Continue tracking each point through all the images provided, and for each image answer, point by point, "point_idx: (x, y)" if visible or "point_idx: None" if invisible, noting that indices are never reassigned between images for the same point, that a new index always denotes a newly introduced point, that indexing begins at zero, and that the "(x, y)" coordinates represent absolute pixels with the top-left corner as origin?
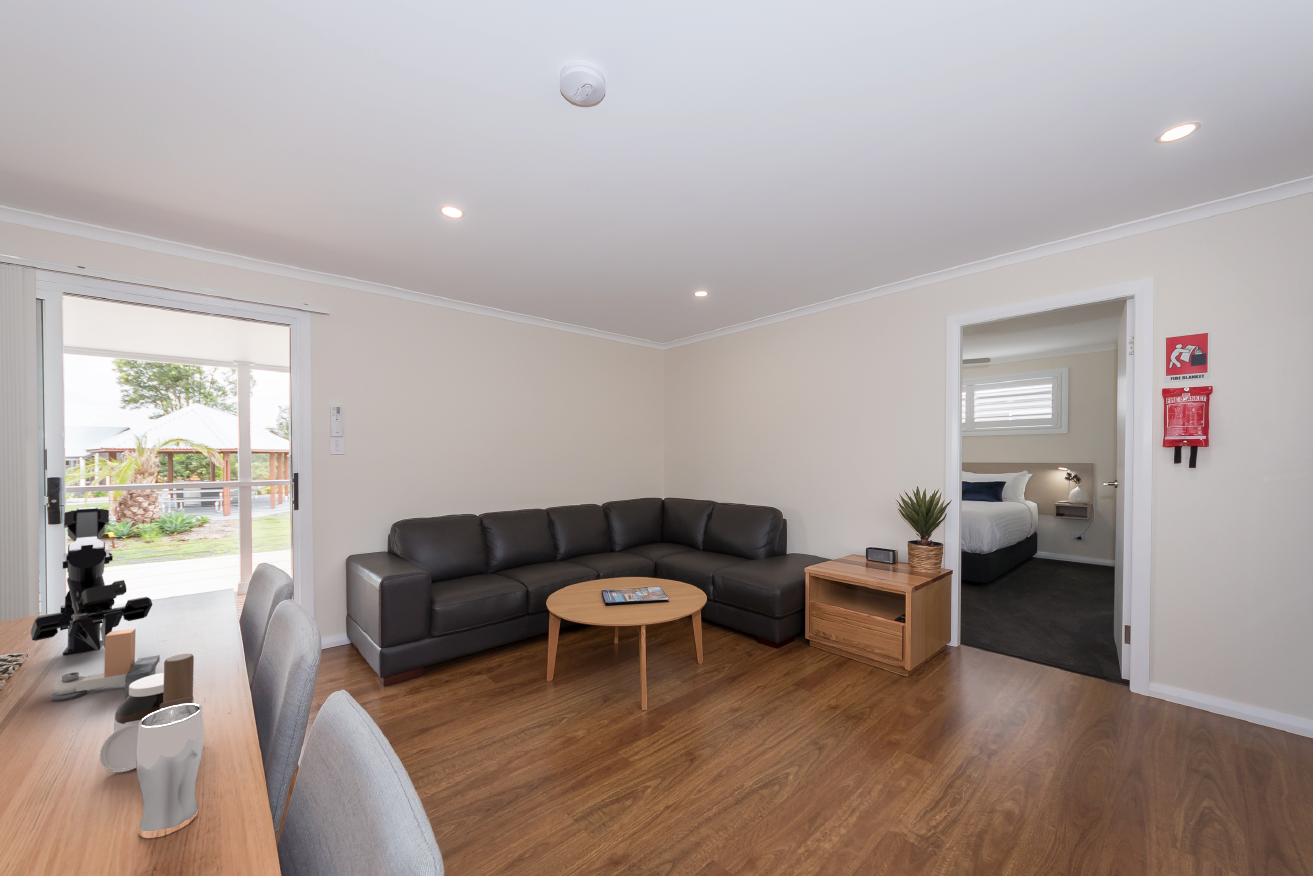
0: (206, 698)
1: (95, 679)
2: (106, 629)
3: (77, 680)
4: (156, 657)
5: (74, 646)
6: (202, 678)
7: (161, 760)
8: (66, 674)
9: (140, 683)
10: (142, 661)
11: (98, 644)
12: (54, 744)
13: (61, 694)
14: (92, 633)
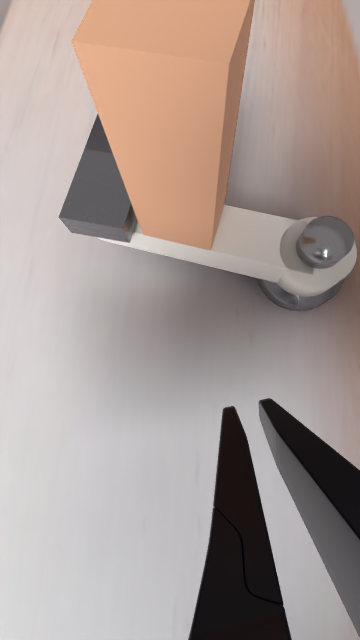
0: (52, 48)
1: (246, 211)
2: (256, 526)
3: (296, 231)
4: (73, 191)
5: None
6: (22, 170)
7: None
8: (343, 254)
9: None
10: (117, 177)
11: (275, 412)
12: (286, 8)
13: None
14: (358, 495)
